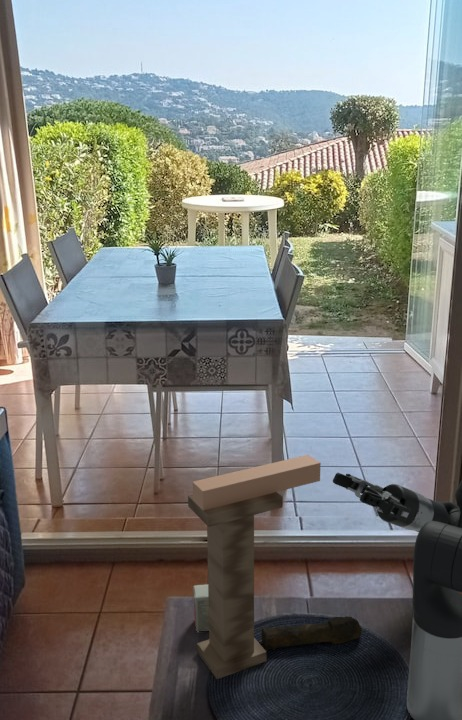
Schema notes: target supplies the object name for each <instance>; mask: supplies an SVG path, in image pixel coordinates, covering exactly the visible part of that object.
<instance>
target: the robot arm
mask: <svg viewBox="0 0 462 720" xmlns="http://www.w3.org/2000/svg"><path fill="white" fill-rule="evenodd" d="M332 483H333V484H334V485H336V486H339V487H341V488H344V489H346V490H347V491H348V490H349V491H350V492H352V493H354V495H355V497H357V498H359V501H360V502H361V503H363V504H366V505H368V506H371V507H374V508H375V510H376V513H377V516H378V517H379V518H380V519H381V520H382V521H383V522H386V523H389V524H392V525H394V526H398V528H399V527H400V528H403V529H406V530H408V531H415V532H417V536H416V539H415V543H414V548H413V549H414V550H413V557H412V560H413V561H412V608H413V610H412V612H413V613H412V623H411V624H412V626H411V640H410V651H409V652H410V654H409V655H410V656H409V668H408V680H407V681H408V682H407V692H406V709H407V712H408V714H409V713H410V714H409V715H410V716H411V718H412V719H413V720H462V594H461V593H462V480H461V481H460V482H459V484H458V486H457V488H456V490H455V492H454V493H455V494H454V499H455V501H456V503H454V502H452V501H435V500H433V499H431V498H427V497H426V496H424V495H422V494H421V493H418V492H416V491H414V490H411V489H409V488H407V487H404V486H402V485H399V484H396V483H392V484H391V483H390V484H387V485H386V486H384V487H382V486H380V485H378V484H373V483H371V482H369V481H368V480H365V479H362V478H359V477H357V476H354V475H351V473H346V474H343V473H340V472H337V473H335V475H334V477H333V479H332Z"/></svg>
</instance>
